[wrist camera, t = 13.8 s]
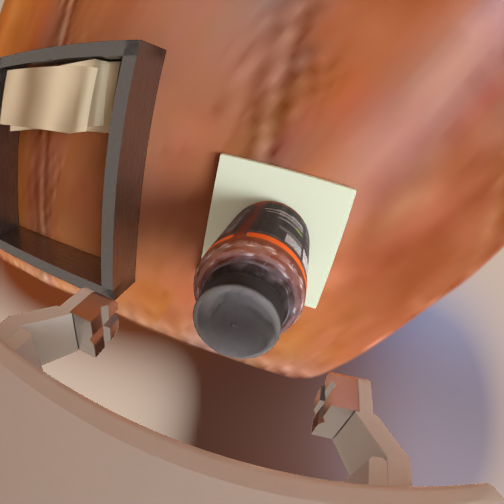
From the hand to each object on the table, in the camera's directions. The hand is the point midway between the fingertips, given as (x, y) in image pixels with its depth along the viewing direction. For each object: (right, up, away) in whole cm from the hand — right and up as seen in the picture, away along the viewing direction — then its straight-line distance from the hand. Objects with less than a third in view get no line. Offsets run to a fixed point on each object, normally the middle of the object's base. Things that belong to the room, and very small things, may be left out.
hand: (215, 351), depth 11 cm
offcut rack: (-17, +13, +15) cm, 26 cm away
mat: (+3, +5, +13) cm, 15 cm away
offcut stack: (-15, +18, +12) cm, 26 cm away
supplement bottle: (+3, +5, +13) cm, 14 cm away
